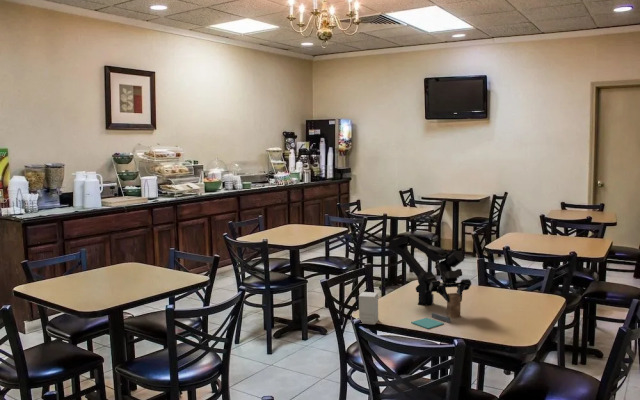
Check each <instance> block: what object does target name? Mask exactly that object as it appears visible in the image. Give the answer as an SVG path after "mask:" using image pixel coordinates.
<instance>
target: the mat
mask: <svg viewBox="0 0 640 400" xmlns="http://www.w3.org/2000/svg"><path fill="white" fill-rule="evenodd" d="M410 324H413V325H415V326H418V327H420V328H423V329H427V330H430V329H434V328H436V327H440V326H443V325H444V324H445V322H442V321H439V320H437V319H434V318H433V319H432V318H430V317H423V318H421V319H418V320H414V321H411V322H410Z"/></svg>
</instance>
